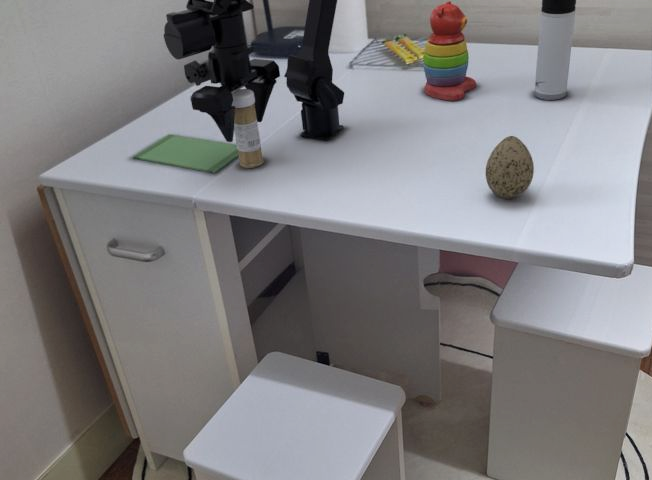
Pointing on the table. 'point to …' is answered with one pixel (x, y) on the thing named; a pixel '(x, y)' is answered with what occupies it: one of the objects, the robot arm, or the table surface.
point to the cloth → (190, 153)
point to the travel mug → (554, 48)
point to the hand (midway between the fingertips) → (244, 131)
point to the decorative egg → (509, 168)
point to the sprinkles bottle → (247, 129)
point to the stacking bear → (447, 55)
